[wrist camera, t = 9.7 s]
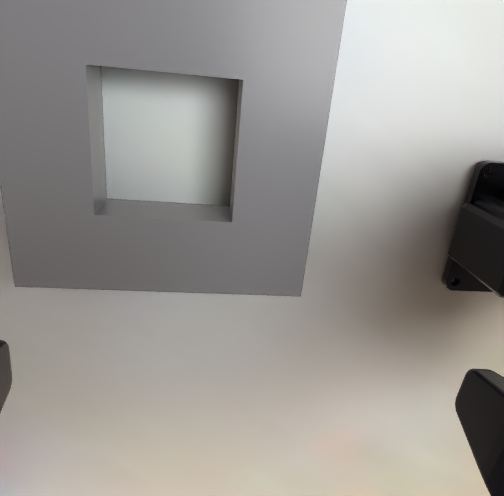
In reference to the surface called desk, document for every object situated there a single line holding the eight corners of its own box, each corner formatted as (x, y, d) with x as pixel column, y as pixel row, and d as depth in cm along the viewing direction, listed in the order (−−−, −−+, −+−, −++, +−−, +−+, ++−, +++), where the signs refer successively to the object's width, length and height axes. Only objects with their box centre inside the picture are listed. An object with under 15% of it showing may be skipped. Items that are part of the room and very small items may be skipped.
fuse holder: (331, -6, 16) (349, -16, 14) (291, 274, 21) (300, 296, 19) (-2, -48, 15) (-35, -66, 13) (35, 263, 19) (15, 286, 17)
